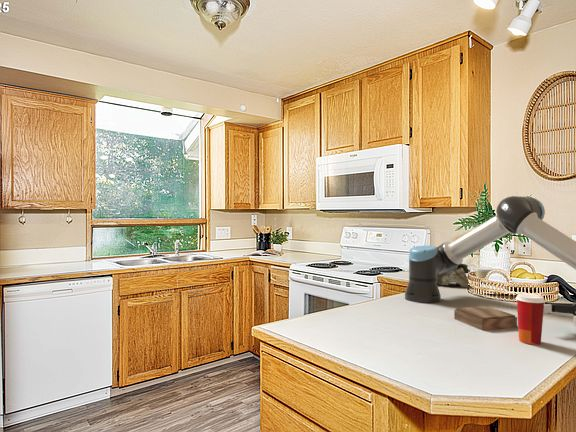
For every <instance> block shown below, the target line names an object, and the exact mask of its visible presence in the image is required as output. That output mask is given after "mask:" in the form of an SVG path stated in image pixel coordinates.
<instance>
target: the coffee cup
mask: <svg viewBox="0 0 576 432" xmlns="http://www.w3.org/2000/svg"><path fill="white" fill-rule="evenodd" d="M493 269H496V268H495V267H487V266H477V267H476V268H475V278H476V277H478V278H485V277H486V275H487V273H488V272H489V271H491V270H493Z"/></svg>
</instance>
